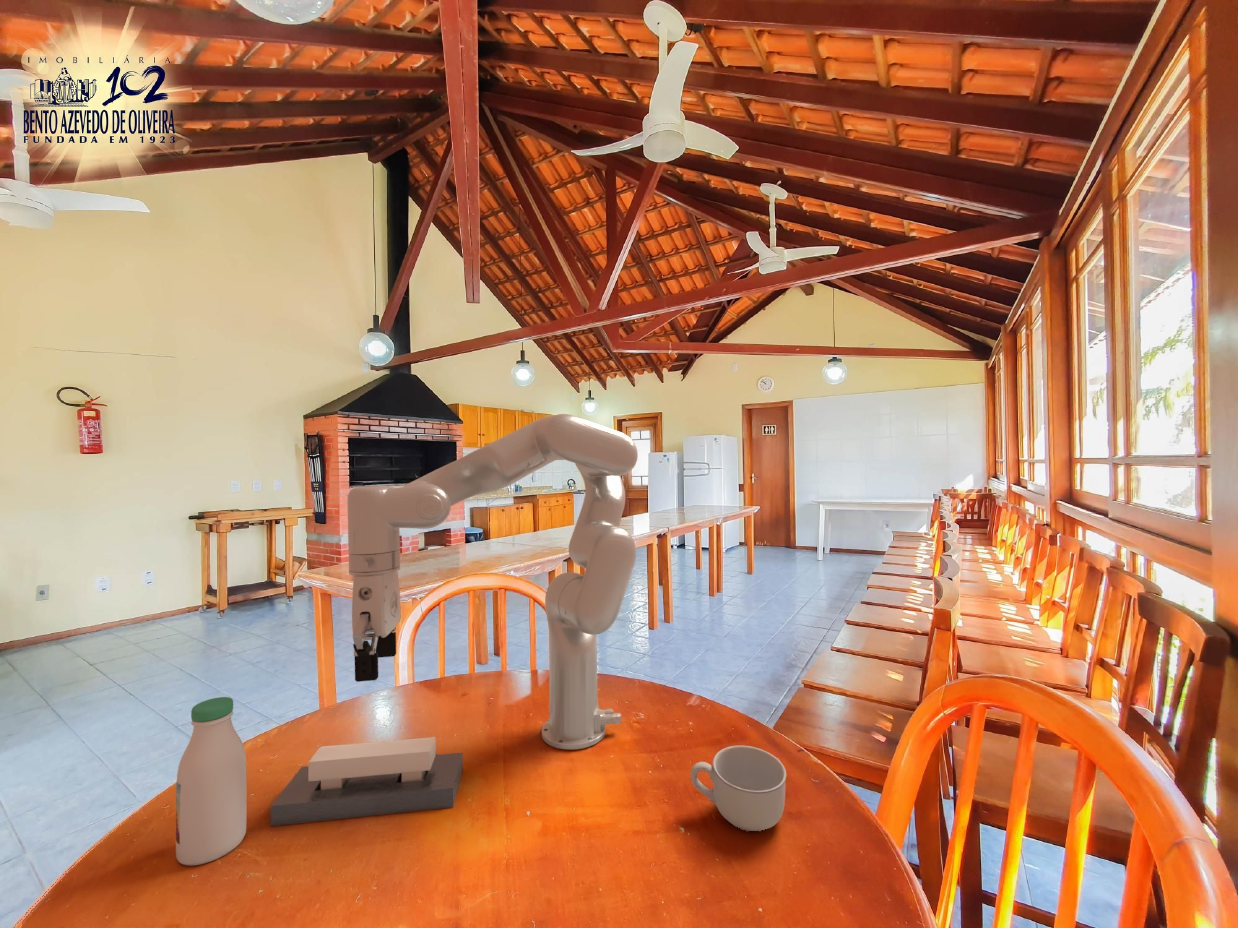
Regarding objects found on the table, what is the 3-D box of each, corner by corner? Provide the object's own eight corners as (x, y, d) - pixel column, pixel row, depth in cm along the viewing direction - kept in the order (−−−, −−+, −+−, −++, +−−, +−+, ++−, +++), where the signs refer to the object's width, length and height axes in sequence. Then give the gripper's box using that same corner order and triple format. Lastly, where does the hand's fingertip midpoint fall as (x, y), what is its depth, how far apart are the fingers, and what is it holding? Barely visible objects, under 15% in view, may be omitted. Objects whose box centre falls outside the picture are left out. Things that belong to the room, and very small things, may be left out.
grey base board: (462, 769, 89) (462, 752, 89) (453, 807, 79) (453, 787, 79) (301, 784, 85) (301, 766, 85) (270, 826, 75) (270, 805, 75)
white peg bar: (435, 781, 85) (435, 736, 85) (430, 798, 81) (429, 751, 81) (320, 792, 83) (320, 746, 83) (308, 810, 78) (308, 761, 78)
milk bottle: (259, 828, 74) (260, 691, 75) (212, 869, 67) (213, 717, 67) (211, 825, 75) (212, 689, 75) (159, 865, 68) (160, 715, 68)
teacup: (787, 802, 79) (786, 751, 80) (786, 852, 69) (785, 793, 69) (698, 785, 84) (698, 736, 84) (685, 829, 74) (685, 774, 74)
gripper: (383, 571, 74) (385, 688, 74) (412, 552, 91) (414, 647, 91) (327, 574, 73) (330, 693, 73) (368, 554, 90) (370, 650, 90)
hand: (377, 667), depth 82 cm, fingers open, 9 cm apart
